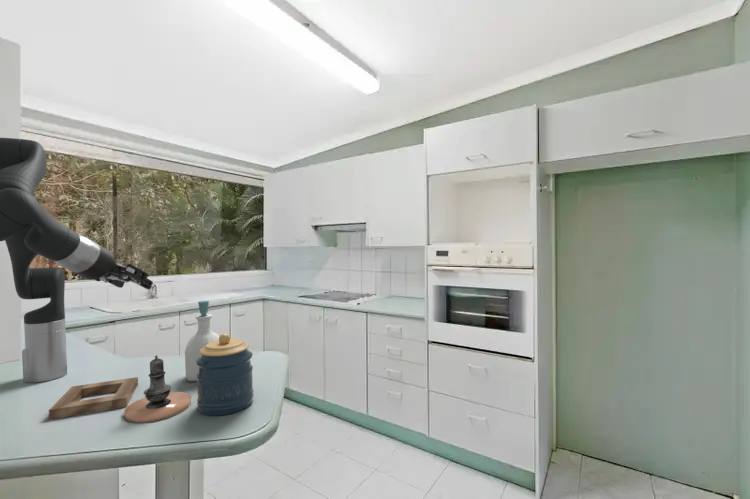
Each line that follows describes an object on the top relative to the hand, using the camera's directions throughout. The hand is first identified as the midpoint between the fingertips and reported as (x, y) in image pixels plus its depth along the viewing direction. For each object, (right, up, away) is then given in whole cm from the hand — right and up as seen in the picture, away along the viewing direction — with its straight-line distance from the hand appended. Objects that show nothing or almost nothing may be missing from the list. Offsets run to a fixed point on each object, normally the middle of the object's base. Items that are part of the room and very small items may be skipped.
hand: (136, 285), depth 94 cm
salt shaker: (+9, -29, -5) cm, 31 cm away
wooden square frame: (-10, -30, 0) cm, 31 cm away
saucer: (+9, -29, -5) cm, 31 cm away
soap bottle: (+11, -29, +15) cm, 35 cm away
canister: (+25, -29, -4) cm, 39 cm away
